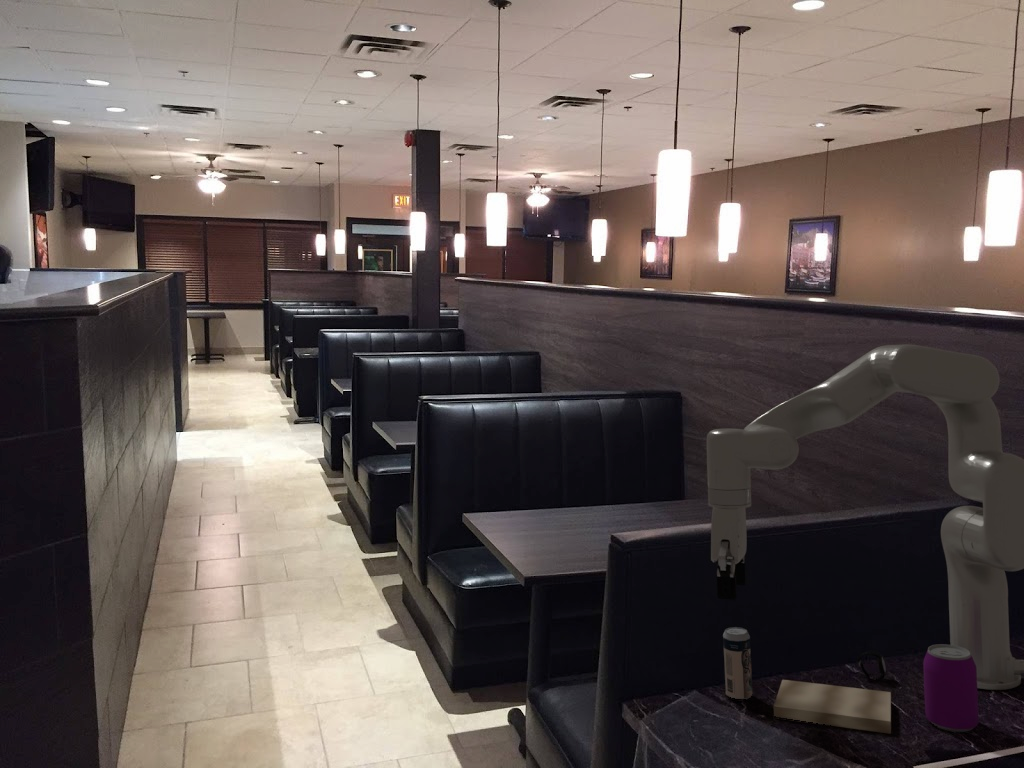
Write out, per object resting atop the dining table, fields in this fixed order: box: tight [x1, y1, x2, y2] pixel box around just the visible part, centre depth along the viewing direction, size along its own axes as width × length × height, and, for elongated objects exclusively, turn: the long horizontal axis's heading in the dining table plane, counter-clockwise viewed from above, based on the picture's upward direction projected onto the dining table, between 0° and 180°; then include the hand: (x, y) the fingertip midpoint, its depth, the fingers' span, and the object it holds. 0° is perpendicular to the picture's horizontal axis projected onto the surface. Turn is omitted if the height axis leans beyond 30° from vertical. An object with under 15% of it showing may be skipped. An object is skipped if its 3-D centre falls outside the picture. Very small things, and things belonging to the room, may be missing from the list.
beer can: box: [722, 626, 753, 700], centre depth 146 cm, size 5×5×12 cm
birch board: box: [773, 679, 892, 735], centre depth 138 cm, size 18×12×2 cm, turn 65°
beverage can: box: [922, 643, 979, 733], centre depth 131 cm, size 8×8×12 cm
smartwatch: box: [857, 650, 888, 680], centre depth 151 cm, size 4×5×5 cm
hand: (732, 591), depth 146 cm, fingers open, 9 cm apart
